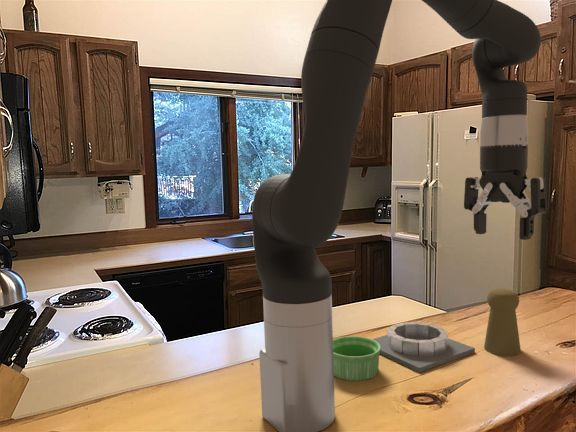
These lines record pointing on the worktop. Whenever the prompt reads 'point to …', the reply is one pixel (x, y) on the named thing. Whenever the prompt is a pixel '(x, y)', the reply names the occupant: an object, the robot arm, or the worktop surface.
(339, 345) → the ramekin
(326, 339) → the robot arm
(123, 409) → the worktop surface
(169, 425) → the worktop surface
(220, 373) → the worktop surface
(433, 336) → the ring collar
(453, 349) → the fitting mat
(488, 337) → the cork
